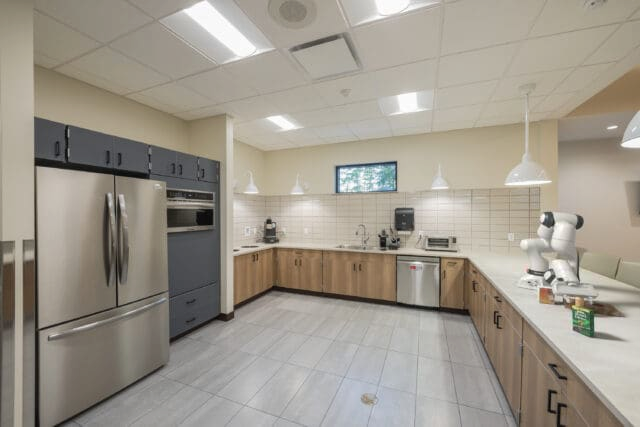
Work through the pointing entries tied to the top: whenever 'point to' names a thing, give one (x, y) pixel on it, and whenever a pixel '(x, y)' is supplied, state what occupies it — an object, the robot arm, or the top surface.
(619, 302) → the top surface
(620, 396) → the top surface
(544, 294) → the small box
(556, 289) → the robot arm
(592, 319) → the coffee box
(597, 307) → the walnut board
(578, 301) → the oak peg
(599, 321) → the top surface
